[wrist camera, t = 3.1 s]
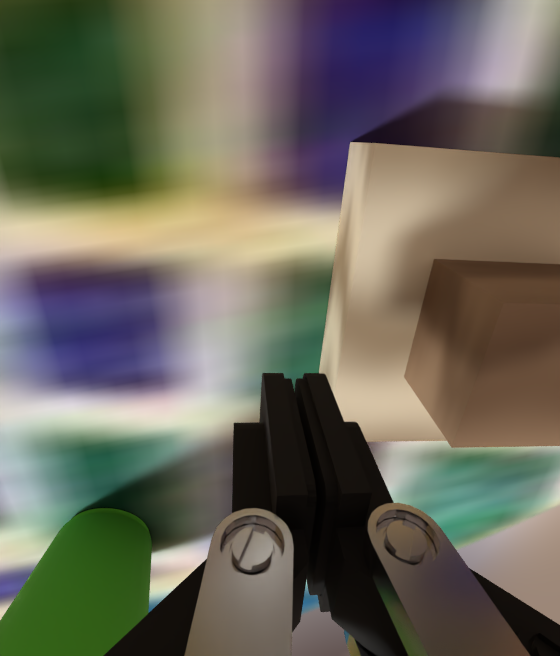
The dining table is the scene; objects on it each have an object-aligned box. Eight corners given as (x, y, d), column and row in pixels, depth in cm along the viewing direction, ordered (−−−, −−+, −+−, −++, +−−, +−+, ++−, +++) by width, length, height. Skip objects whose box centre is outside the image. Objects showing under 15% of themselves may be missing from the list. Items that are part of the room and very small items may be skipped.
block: (434, 258, 13) (503, 302, 10) (562, 264, 14) (672, 307, 10) (403, 376, 16) (451, 447, 12) (515, 377, 16) (592, 445, 13)
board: (350, 141, 14) (375, 143, 12) (655, 165, 16) (740, 171, 13) (315, 400, 20) (326, 442, 17) (545, 400, 21) (589, 438, 18)
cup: (208, 505, 22) (182, 792, 13) (155, 591, 26) (102, 872, 16) (47, 463, 20) (-143, 781, 10) (11, 564, 23) (-158, 879, 13)
